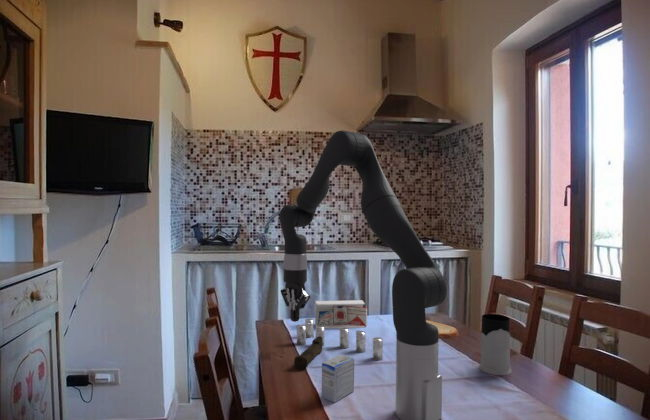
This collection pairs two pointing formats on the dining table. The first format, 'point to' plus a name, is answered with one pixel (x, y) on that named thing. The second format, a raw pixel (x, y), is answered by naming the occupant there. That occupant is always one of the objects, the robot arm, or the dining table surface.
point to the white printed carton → (340, 314)
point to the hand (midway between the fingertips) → (294, 320)
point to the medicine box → (337, 378)
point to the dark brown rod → (309, 354)
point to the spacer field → (308, 332)
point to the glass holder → (495, 344)
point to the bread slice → (445, 330)
